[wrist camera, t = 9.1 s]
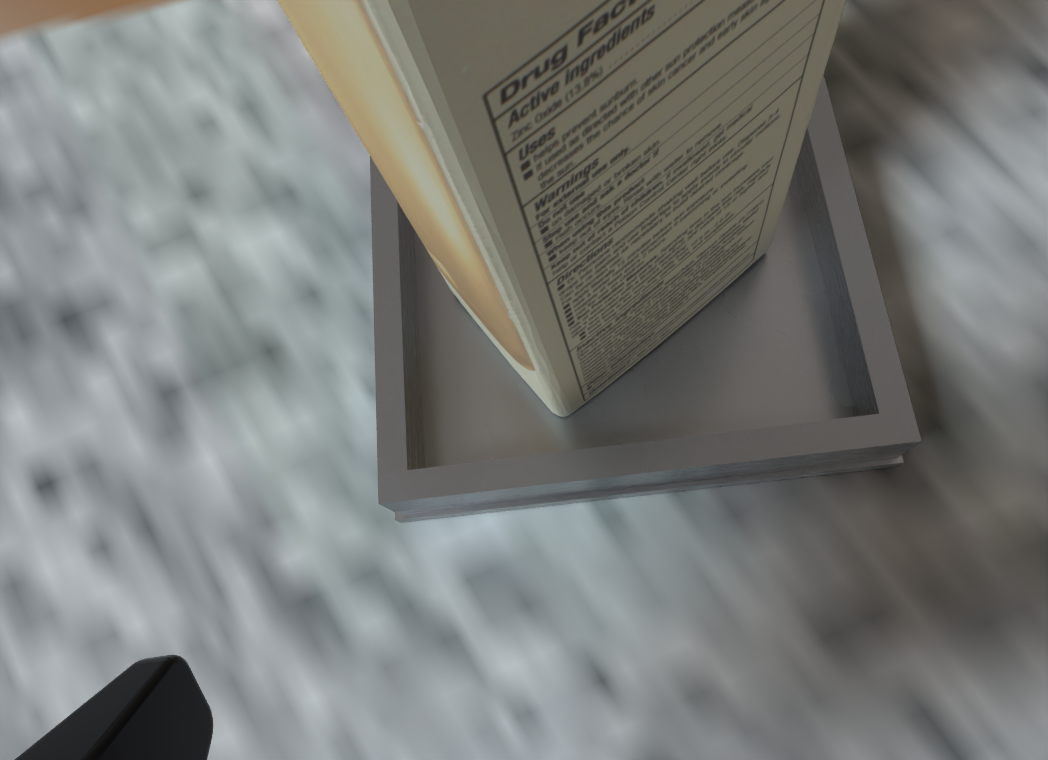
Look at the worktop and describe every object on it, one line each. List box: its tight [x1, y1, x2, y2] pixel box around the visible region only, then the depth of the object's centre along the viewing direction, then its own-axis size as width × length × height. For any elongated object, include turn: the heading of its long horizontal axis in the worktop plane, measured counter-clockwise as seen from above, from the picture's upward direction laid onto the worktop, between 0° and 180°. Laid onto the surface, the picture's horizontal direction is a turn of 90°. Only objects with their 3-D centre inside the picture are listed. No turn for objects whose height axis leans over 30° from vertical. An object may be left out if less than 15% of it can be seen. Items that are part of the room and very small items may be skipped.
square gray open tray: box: [370, 75, 921, 522], centre depth 17 cm, size 10×10×2 cm
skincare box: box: [277, 0, 846, 417], centre depth 12 cm, size 6×4×12 cm
